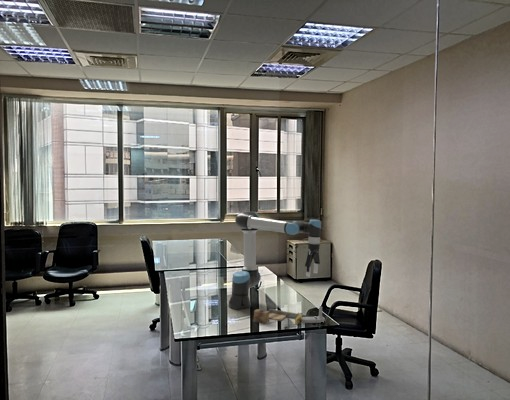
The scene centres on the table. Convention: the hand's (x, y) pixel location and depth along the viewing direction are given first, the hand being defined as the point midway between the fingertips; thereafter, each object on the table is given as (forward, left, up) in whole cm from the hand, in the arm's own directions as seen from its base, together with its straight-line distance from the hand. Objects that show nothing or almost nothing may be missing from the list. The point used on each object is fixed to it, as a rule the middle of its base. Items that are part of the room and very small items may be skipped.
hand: (311, 275), depth 267 cm
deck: (-13, -19, -26) cm, 35 cm away
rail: (-12, -19, -26) cm, 35 cm away
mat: (-23, -30, -26) cm, 46 cm away
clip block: (-23, -30, -26) cm, 46 cm away
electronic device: (+6, -13, -27) cm, 30 cm away
